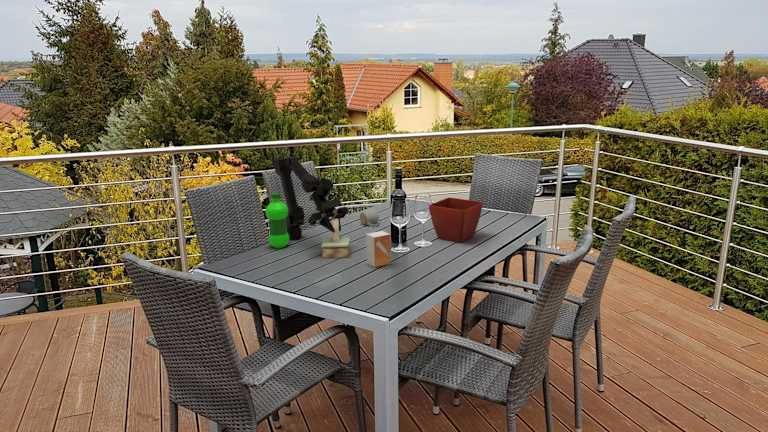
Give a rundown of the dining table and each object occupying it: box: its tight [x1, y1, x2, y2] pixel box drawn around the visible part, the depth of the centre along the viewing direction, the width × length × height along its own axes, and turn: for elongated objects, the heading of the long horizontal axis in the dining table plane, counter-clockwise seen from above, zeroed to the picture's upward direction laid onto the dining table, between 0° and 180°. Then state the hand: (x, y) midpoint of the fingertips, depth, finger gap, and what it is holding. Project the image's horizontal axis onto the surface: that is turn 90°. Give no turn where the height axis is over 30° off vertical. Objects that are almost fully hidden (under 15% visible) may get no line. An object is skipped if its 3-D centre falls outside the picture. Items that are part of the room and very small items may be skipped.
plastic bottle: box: [264, 192, 290, 249], centre depth 251 cm, size 10×10×25 cm
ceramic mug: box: [359, 208, 380, 228], centre depth 286 cm, size 11×8×8 cm
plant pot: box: [428, 197, 484, 244], centre depth 259 cm, size 19×19×17 cm
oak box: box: [321, 241, 351, 259], centre depth 242 cm, size 11×11×4 cm
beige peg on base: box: [321, 218, 351, 248], centre depth 240 cm, size 11×11×11 cm
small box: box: [365, 230, 392, 268], centre depth 226 cm, size 8×6×13 cm
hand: (337, 231), depth 239 cm, fingers closed on beige peg on base, 3 cm apart
